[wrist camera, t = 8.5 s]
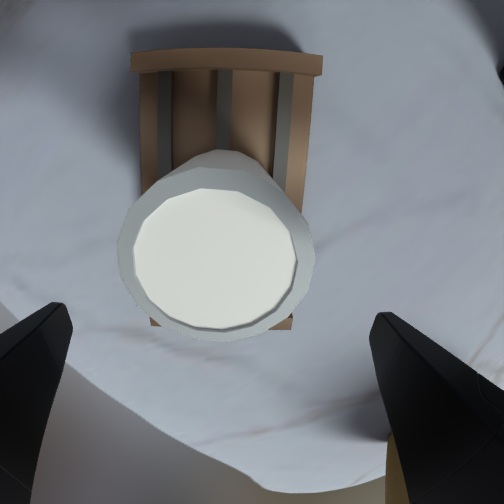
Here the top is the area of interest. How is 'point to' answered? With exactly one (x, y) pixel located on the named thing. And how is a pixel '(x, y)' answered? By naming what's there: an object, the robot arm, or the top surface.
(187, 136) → the rack
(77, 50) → the top surface
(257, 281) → the white tapered cylinder
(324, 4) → the top surface
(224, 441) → the top surface
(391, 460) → the plant pot
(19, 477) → the robot arm
